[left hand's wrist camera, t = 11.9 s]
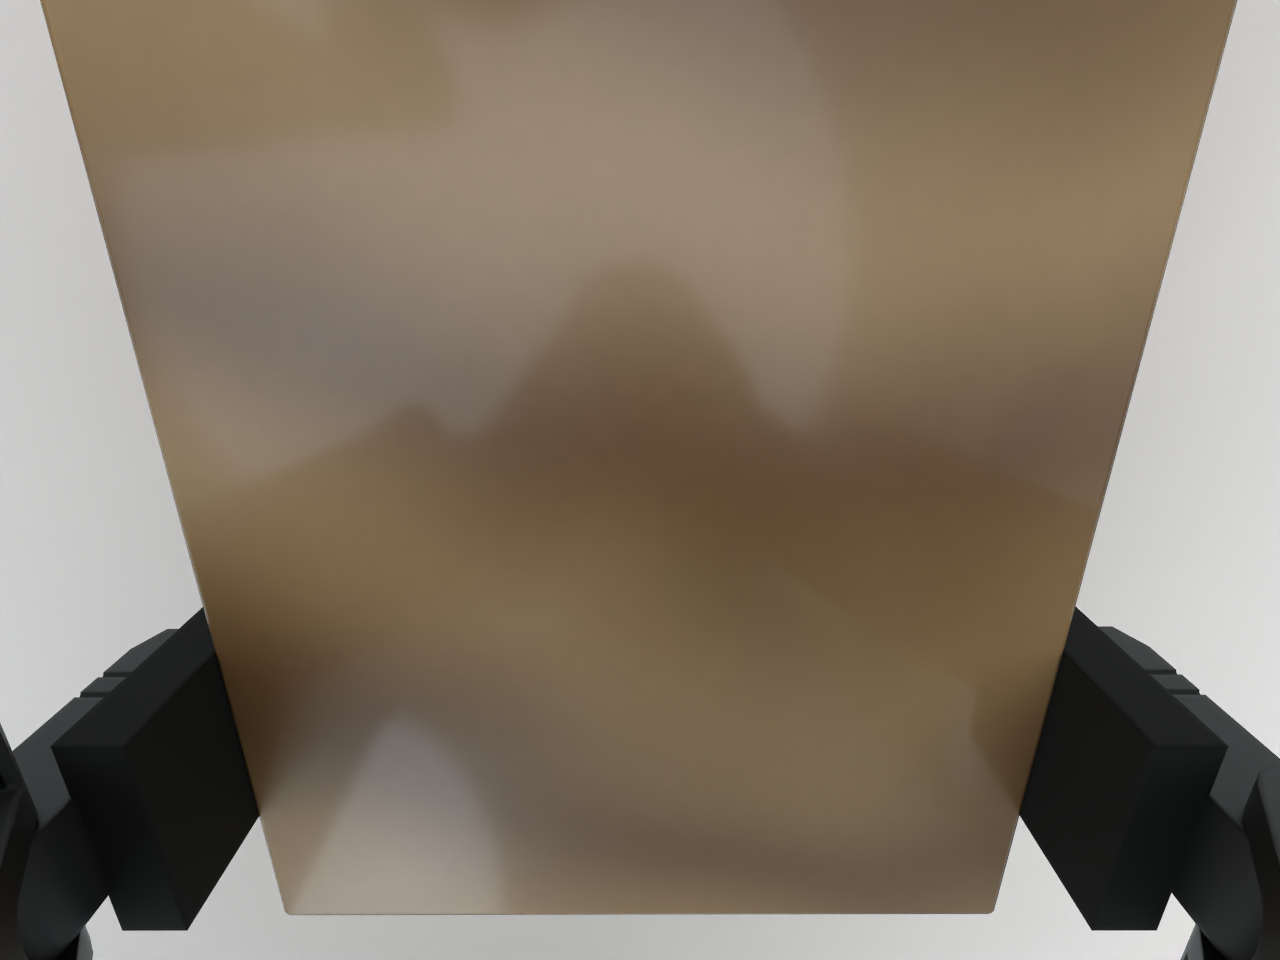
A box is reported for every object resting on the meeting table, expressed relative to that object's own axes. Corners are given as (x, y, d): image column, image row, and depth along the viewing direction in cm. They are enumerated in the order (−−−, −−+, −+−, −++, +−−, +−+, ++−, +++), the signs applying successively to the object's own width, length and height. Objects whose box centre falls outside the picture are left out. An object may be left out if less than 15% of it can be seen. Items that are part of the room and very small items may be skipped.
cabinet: (339, -182, 12) (-206, -890, 4) (938, -182, 12) (1481, -885, 4) (437, 609, 18) (283, 918, 10) (840, 609, 18) (995, 916, 10)
